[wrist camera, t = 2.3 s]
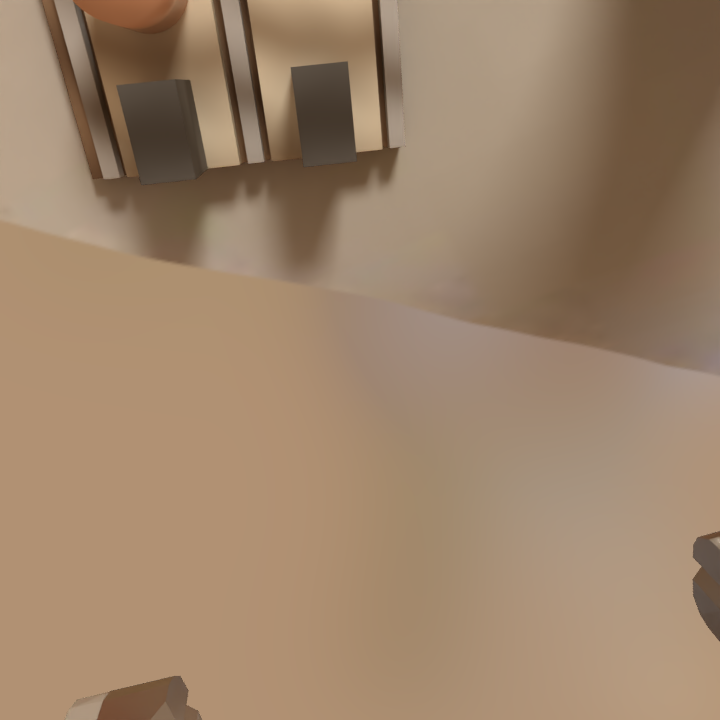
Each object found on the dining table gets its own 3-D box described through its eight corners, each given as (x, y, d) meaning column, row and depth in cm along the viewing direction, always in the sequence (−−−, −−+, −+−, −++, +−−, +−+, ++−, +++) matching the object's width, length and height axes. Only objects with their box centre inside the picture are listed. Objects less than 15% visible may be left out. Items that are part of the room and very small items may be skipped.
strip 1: (61, -98, 31) (14, -134, 26) (193, -111, 31) (172, -148, 26) (131, 175, 37) (104, 189, 32) (241, 163, 37) (231, 175, 32)
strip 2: (231, -114, 31) (217, -152, 26) (360, -126, 31) (370, -165, 26) (272, 159, 37) (267, 171, 32) (380, 147, 37) (392, 157, 32)
